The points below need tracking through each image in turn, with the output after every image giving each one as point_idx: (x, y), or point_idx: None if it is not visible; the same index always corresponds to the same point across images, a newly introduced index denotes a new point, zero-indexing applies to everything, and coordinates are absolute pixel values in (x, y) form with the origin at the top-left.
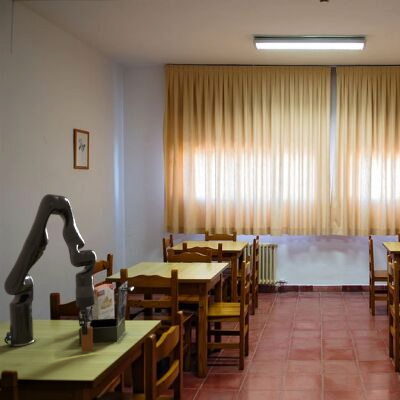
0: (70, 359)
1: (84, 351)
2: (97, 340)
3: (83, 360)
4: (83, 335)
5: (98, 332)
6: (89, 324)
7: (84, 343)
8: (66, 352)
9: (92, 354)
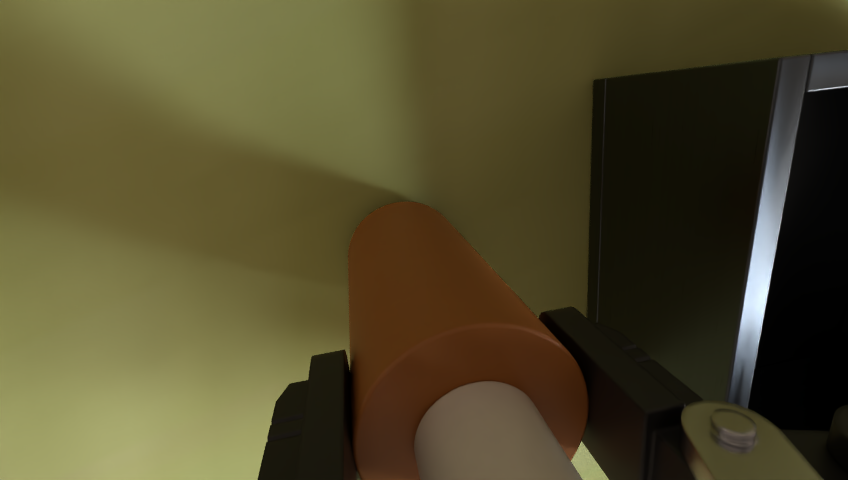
0: (158, 171)
1: (349, 248)
2: (615, 272)
3: (138, 325)
4: (353, 339)
5: (679, 328)
6: (613, 464)
7: (349, 289)
8: (402, 6)
9: (318, 330)
